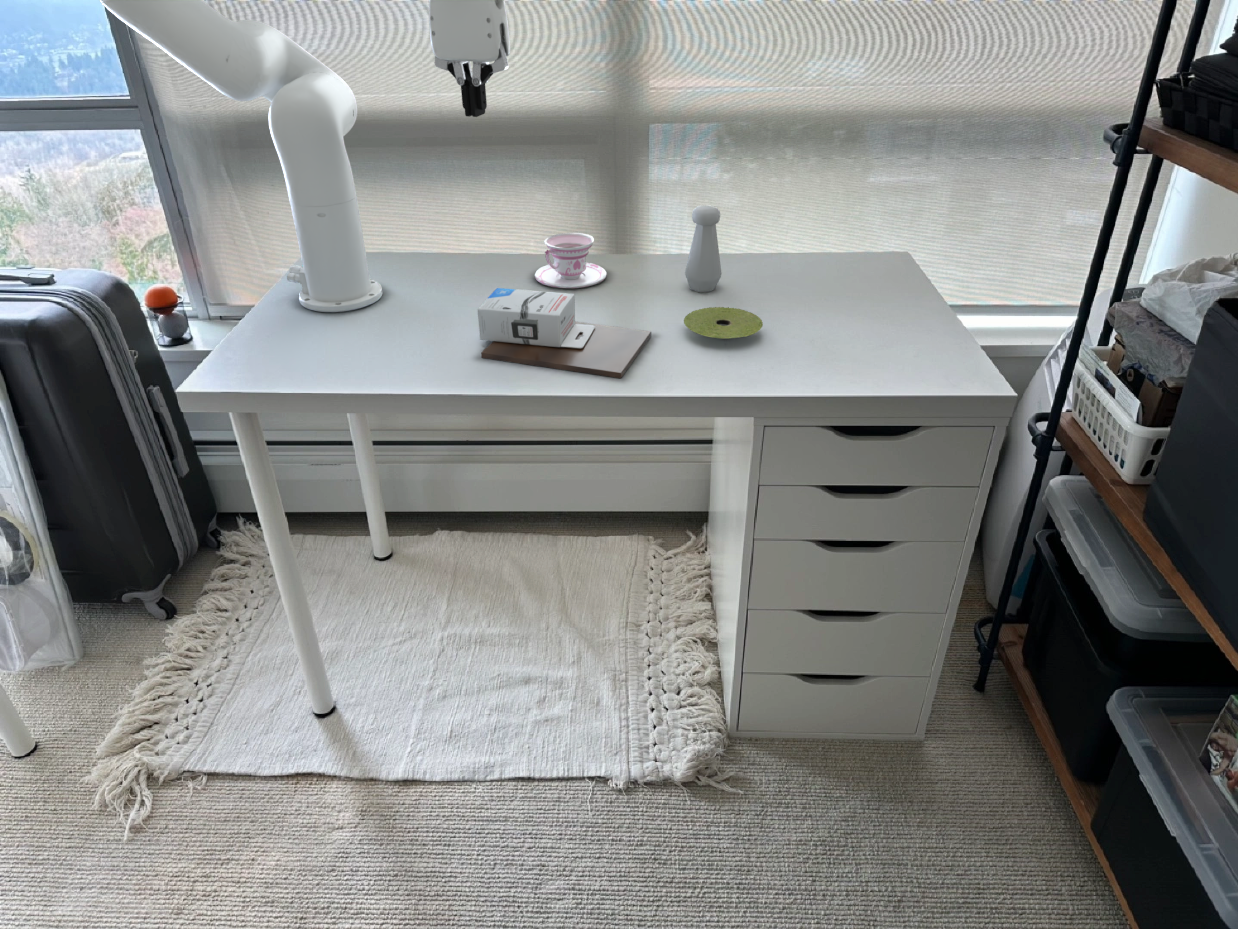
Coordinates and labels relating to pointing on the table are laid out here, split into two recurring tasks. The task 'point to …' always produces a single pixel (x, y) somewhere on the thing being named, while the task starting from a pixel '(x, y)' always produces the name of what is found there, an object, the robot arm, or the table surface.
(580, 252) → the teacup
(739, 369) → the table surface
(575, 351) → the walnut board
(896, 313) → the table surface
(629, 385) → the table surface
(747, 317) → the green grinding disc
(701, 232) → the salt shaker
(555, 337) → the ink box
